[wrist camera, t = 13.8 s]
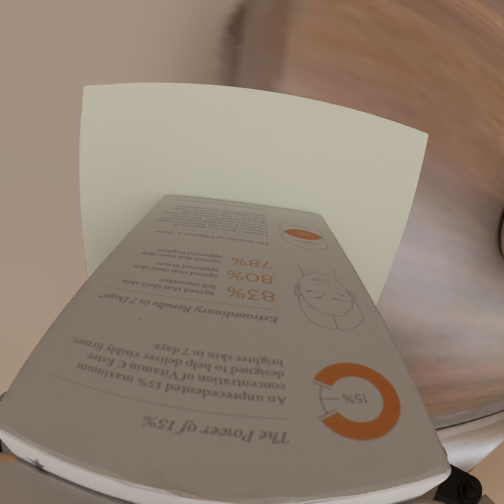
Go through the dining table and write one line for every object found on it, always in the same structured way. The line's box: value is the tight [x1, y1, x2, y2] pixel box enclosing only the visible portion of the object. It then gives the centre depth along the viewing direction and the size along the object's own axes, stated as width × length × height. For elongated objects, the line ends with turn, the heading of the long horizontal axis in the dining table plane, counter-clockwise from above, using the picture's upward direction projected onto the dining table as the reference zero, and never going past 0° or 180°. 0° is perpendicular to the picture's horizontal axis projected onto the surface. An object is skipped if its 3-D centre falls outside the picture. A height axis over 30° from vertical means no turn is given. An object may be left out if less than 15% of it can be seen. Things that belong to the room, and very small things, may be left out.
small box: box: [0, 195, 451, 504], centre depth 10 cm, size 8×6×13 cm
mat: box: [79, 83, 428, 306], centre depth 16 cm, size 18×18×1 cm
